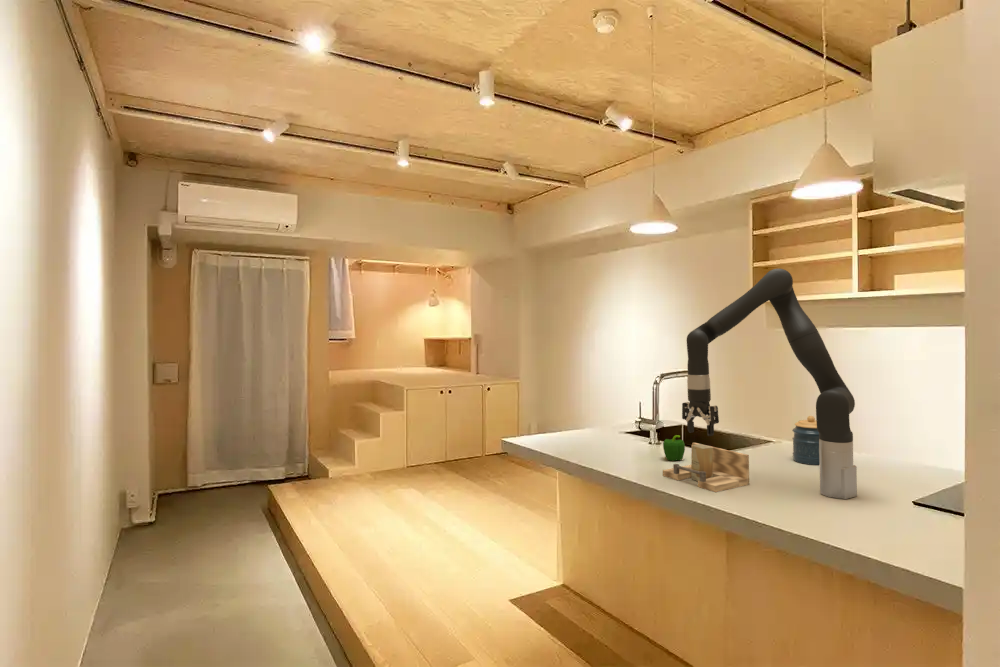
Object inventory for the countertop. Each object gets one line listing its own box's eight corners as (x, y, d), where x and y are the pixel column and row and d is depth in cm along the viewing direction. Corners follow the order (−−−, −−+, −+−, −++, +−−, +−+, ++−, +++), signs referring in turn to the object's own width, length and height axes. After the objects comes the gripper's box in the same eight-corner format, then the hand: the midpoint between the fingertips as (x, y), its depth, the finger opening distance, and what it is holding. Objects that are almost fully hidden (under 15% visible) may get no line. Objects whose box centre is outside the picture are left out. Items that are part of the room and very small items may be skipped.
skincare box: (690, 479, 204) (690, 444, 204) (700, 477, 206) (700, 443, 205) (703, 484, 198) (703, 448, 198) (713, 482, 200) (713, 446, 200)
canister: (797, 464, 219) (796, 418, 219) (789, 456, 232) (788, 412, 231) (835, 466, 216) (835, 418, 216) (825, 457, 229) (824, 413, 228)
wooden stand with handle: (749, 484, 196) (748, 454, 196) (715, 492, 189) (714, 461, 188) (695, 469, 217) (694, 442, 217) (662, 475, 210) (662, 448, 210)
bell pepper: (658, 460, 233) (658, 435, 233) (670, 456, 238) (669, 432, 238) (677, 463, 227) (676, 438, 226) (688, 459, 232) (688, 434, 232)
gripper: (723, 388, 197) (724, 435, 197) (691, 385, 209) (692, 429, 210) (707, 389, 193) (708, 438, 194) (675, 386, 206) (677, 432, 206)
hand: (700, 434), depth 202 cm, fingers open, 8 cm apart
